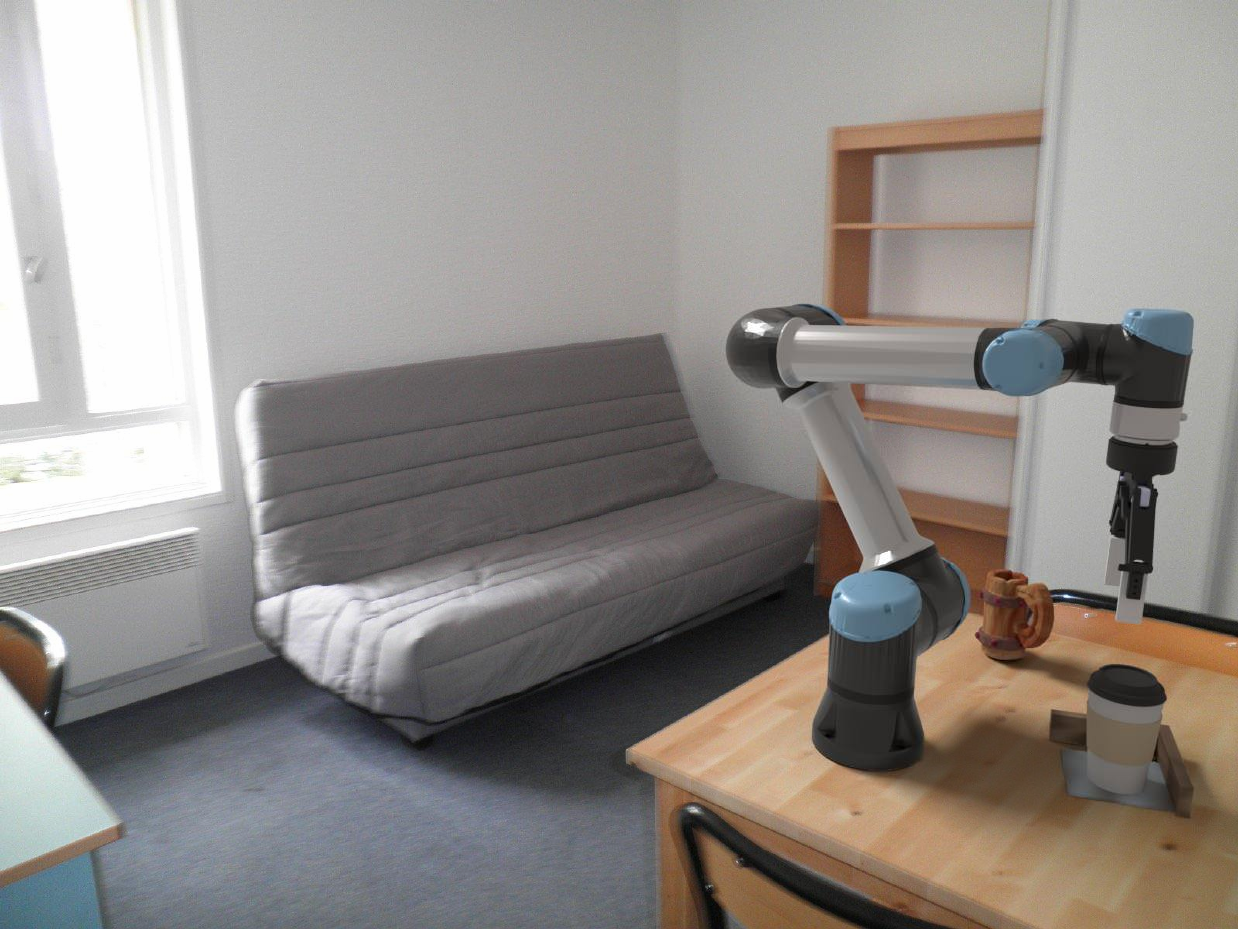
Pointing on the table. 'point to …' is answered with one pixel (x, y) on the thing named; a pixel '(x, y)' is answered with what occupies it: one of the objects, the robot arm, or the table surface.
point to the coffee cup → (1122, 726)
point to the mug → (1013, 615)
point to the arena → (1164, 779)
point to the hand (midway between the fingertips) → (1121, 603)
